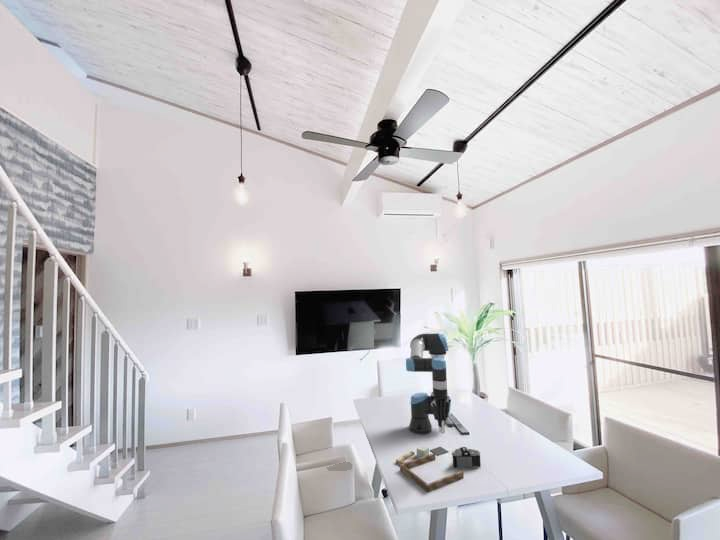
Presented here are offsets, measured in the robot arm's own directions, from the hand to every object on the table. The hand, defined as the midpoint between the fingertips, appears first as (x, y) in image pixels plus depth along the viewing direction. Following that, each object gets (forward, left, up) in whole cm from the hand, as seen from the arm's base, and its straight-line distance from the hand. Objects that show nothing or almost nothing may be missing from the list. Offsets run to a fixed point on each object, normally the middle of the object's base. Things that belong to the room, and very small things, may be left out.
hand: (442, 432), depth 177 cm
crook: (+10, -17, -19) cm, 28 cm away
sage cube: (+1, -16, -19) cm, 25 cm away
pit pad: (-11, -16, -19) cm, 27 cm away
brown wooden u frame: (+9, 0, -19) cm, 21 cm away
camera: (-13, +3, -19) cm, 24 cm away
